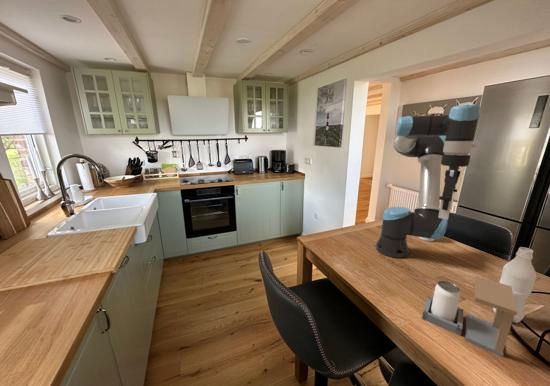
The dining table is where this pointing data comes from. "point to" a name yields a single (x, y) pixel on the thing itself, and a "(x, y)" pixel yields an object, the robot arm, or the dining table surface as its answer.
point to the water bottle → (519, 279)
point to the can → (445, 300)
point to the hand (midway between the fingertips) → (445, 213)
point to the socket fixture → (479, 329)
